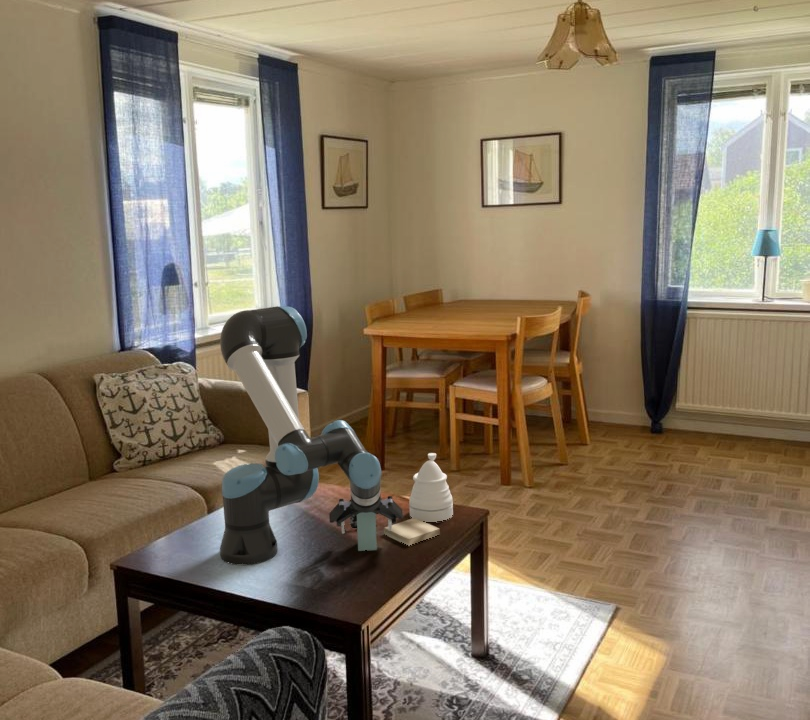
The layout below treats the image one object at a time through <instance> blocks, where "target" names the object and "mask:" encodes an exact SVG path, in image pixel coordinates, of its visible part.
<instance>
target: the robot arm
mask: <svg viewBox="0 0 810 720" xmlns="http://www.w3.org/2000/svg"><path fill="white" fill-rule="evenodd" d="M307 337H308V333H307V326H306V323H305V321H304V319H303V317H302V315H301V314H300V313H299V312H298V310H297V309H296V308H294V307H292V306H278V305H277V306H270V307H264V308H256V309H249V310H248V309H247V310H242V311H238V312H236V313H234V314H232V315H231V316H230V317H229V318H228V319H227V321H226V322H225V323H224V324H223V327H222V330H221V332H220V337H219V338H220V339H219V346H220V351H221V356H222V358H223V360H224V362H225V364H226V366H227V367H228V369H229V370H232V371H235V374H236V375H237V377H238V378H239V380H240V382H241V383H242V385H243V387H244V389H245V391H246V392H247V394H248V396H249V398H250V399H251V401H252V403H253V406H254V407H255V409H256V410H257V411H258V414H259V415H260V417H261V419H262V421H263V422H264V424H265V426H266V427H267V430H268V440H269V452H267V453H268V454H267V455H266V456H265V466H264V465H263V464H261V463H255V462H253V463H252V462H251V463H249V464H247V463H245V464H241V465H237V466H235V467H233V468H231V469H229V470H228V471H227V472H225V474H224V476H223V477H222V479H221V480H222V481H221V494H222V503H223V504H222V505H223V517H224V518H223V519H224V531H223V535H222V538H221V539H222V540H221V543H220V547H219V553H220V554H219V555H220V559H221V560H222V561H223V560H224V561H223V562H225V561H226V562H225V563H227V562H229V563H228V564H231V563H232V564H231V565H237V564H247V565H255V564H258V563H263V562H266V561H268V560H270V559H272V558H274V557H275V556H276V555H277V554H278V541H277V538H276V536H275V534H274V531H273V529H272V525H271V523H270V515H269V512H271V511H273V510H277V509H280V508H284V507H286V506H290V505H293V504H298V503H301V502H303V501H305V500H308V499H310V498H311V497H313V496H314V494H315V493H316V492H317V489H318V487H319V481H320V480H319V479H320V477H319V476H320V475H319V469H318V468H323V467H326V466H330V465H334V464H338V466H339V467H340V468H341V470H342V471H343V473H344V474H345V476H346V477H347V479H348V480H349V484H350V487H349V488H350V490H349V491H350V500H348V501H347V500H344V498H339V499H338V503H337V504H336V505H335V507H333V509H332V510H331V511H330V512H329V515H328V516H329V523H332V524H333V523H335V522H336V526H337V527H340V528H341V529H340V530H341V534H345V533H346V531H345V529H344V525H345V521H346V520H348V519H350V517H351V516H353V515H355V516H356V515H357V514H359V513H362V512H363V513H368V512H373V513H375V514H376V515H381V516H383V517H385V518H387V519H388V520H387V524H388V525H387V527H388V528H389V531H391V529H392V525H393V524H397V519H399V520H401V519H403V518H404V515H403V513H404V512H403V508H401V506H400V505H398V503H397V502H396V501H394V499H393V496H392V495H388V496H387V498H385V499H382V497H381V493H382V491H381V486H382V485H381V483H382V482H381V481H382V468H381V464H380V461H379V458H377V457H376V456H375V455H374V454H372V453H370V452H368V451H367V449H366V448H365V447H364V445H363V444H362V442H361V441H360V439H359V437H358V435H357V434H356V432H355V430H354V429H353V428H352V426H350V425H349V423H347V421H345V420H342V419H338V420H334V421H333V422H331V423H328V424H327V425H326V426H325V427H324V428H323V429H322V431H321V434H320V435H317V436H312V437H310V436H309V434H308V433H307V431H306V430H305V428H304V426H303V424H302V423H301V420H300V412H299V402H298V401H299V399H298V390H297V377H296V363H295V362H296V361H297V359H298V358H299V357H300V349H301V347H303V346H304V345H305V343H306V340H307Z"/></svg>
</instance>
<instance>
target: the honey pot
mask: <svg viewBox="0 0 810 720" xmlns="http://www.w3.org/2000/svg"><path fill="white" fill-rule="evenodd" d="M427 458H428V459H429V460H427V461H425V462H424V463H423V464H422V465H421V467H420V468H419V471H418V472H417V473H415V474H413V476H412V479H413V480H414V484H413V486H412V488H411V489H412V490H411V491H410V492H411V495H409V499H408V500H409V517H410V516H411V517H412V518H416V519H419V520H421V521H425V523H426V522H436V523H438V522H437V521H442V522H444V521H443V520H446V521H448V520H450V519H452V517H453V516H454V504H453V503H454V502H453V495H452V494H451V490H450V487H449V484H448V483H447V478H448V475H447V474H446V473H444V472H443V471H442V470H441V468H440V466H439V465H438V464H437V463H436V462H435V460H436V459H437V453H435V452H429V453H428V454H427ZM452 515H453V516H452ZM411 517H410V518H411ZM412 518H411V519H412ZM449 518H450V519H449ZM447 519H448V520H447Z"/></svg>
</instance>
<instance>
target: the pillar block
mask: <svg viewBox="0 0 810 720" xmlns="http://www.w3.org/2000/svg"><path fill="white" fill-rule="evenodd" d="M376 515H377V514H375V513H373V512H368V513H363V512H362V513H359V514H357V521H356V522H357V530H356V533H357V551H358V552H362V551H363V552H366V551H365V550H367V551H378V544H377V526H376V525H377V518H376V517H377V516H376Z"/></svg>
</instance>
